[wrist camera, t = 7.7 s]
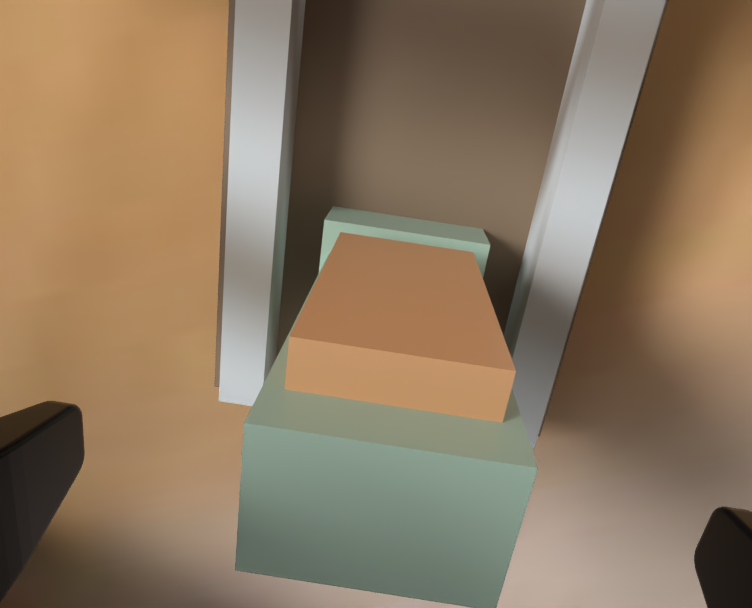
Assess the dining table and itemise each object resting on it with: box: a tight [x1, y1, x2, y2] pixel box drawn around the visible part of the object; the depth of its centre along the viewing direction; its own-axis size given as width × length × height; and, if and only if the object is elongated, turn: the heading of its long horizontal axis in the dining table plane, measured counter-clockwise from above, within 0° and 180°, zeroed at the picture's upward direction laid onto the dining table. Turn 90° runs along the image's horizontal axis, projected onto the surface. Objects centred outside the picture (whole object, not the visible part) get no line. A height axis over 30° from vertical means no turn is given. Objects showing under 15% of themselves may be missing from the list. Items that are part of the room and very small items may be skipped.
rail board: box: [215, 0, 668, 450], centre depth 10 cm, size 20×10×10 cm, turn 172°
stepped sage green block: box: [235, 206, 538, 608], centre depth 11 cm, size 4×4×9 cm
